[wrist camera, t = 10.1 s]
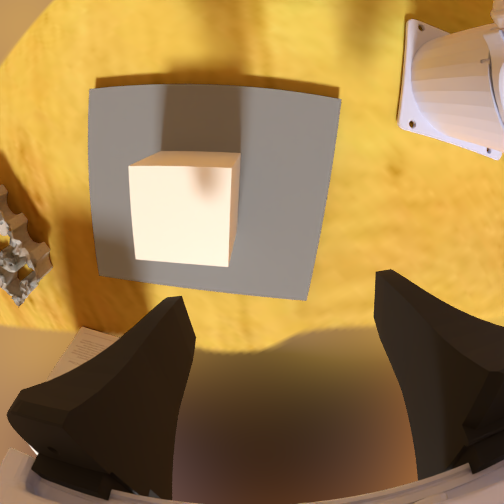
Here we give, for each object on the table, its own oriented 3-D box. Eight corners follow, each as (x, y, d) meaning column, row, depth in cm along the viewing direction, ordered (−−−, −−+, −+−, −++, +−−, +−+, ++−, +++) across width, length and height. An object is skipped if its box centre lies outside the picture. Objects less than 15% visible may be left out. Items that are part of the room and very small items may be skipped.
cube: (240, 153, 18) (231, 168, 14) (237, 229, 20) (228, 266, 16) (160, 150, 18) (128, 165, 14) (163, 225, 20) (135, 259, 16)
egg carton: (-25, 214, 22) (-52, 229, 18) (2, 167, 20) (-30, 180, 16) (30, 296, 25) (7, 318, 22) (64, 262, 23) (39, 286, 20)
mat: (338, 99, 17) (341, 99, 16) (305, 294, 23) (306, 300, 23) (95, 89, 17) (89, 89, 16) (103, 270, 23) (99, 275, 23)
